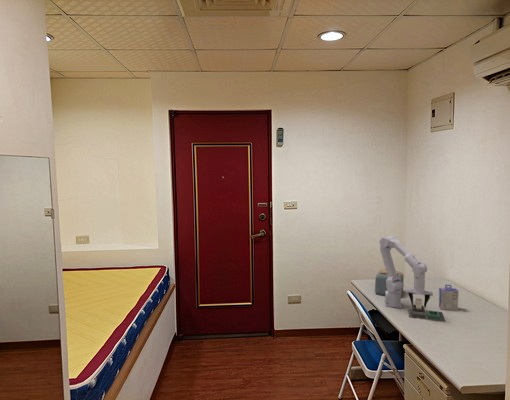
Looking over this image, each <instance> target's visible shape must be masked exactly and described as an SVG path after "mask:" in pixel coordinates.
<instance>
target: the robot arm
mask: <svg viewBox="0 0 510 400" xmlns="http://www.w3.org/2000/svg"><path fill="white" fill-rule="evenodd" d="M379 245H380V247H379V248H380V249H379V250H380V255H381V257H382V261H383V264H384V268H385V270H386V272H387V275H388V278H387V280H386V283H387V285H386V287H387V290H388V291H386V293H385V299H384V305H385V307H389V308H399V309H402V299H401V298H402V293H401V291H402V289H403V290H404V287H405V286H404V281H403V282H402V281H401V279H400V277H398V276H397V274H396V271H397V270H396V267H395V264H394V261H393V257H392V254H391V250H393V249H395V250H396V251H397V252H398V253H399V254H400V255H402V256H403V257H404V261H405V262H406V263H407V265H409V267H411V270H412V272H413V278H414V279H413V289H408V288H407V289H405V294H408V297H409V300H410V303H411V307H412V306H413V305H414V295H420V296H421V295H422V296H424V301H423V303H424V304H423V306H424V308H427V304H428V302H429V300H430V298H431V297H433V296H434V295H433V293H434V292H433V291H428V290H425V286H426V285H425V284H426V272H427V271H428V267H427V264H426V263H424V262H421V260H419V259H418V258H417V257H416V255H414V254H412V253H409V252H408V250H407V249H406V248H405V247H404V246H403V245H402V244H401V242H400V239H399V238H398V237H397V236H396V235H394V234H391V235H388V236H383V237H381V238H380V239H379Z"/></svg>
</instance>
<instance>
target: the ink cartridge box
mask: <svg viewBox="0 0 510 400" xmlns="http://www.w3.org/2000/svg"><path fill="white" fill-rule="evenodd" d="M444 286H445V287H439V288H438V308H439V309H440V310H446V311H447V310H448V311H458V310H459V290H458V289H457V288H456V287H455V288H453V287H452V284H444Z"/></svg>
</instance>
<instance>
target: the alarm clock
mask: <svg viewBox="0 0 510 400" xmlns="http://www.w3.org/2000/svg"><path fill="white" fill-rule="evenodd" d="M395 271H396V274H397V276H398V277H400V279H401V281H402V282H403V283H404V278H405V276H404V273H403V272H401V271H397V270H395ZM387 278H388V275H387V272H386V269H380V270H379V271H378V273H377V274H376V276H375V281H374V282H375V284H374V287H375V288H374V293H375V294H376V295H380V296H385V293H386V291H388V290H387V287H386V285H387V283H386V280H387ZM403 292H404V288H403V289H402V291H401V294H403Z"/></svg>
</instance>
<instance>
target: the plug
mask: <svg viewBox="0 0 510 400" xmlns="http://www.w3.org/2000/svg"><path fill="white" fill-rule="evenodd" d="M415 305H416V306H415V308H416V309H422V306H423V300H422V298H418V297H415Z"/></svg>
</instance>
